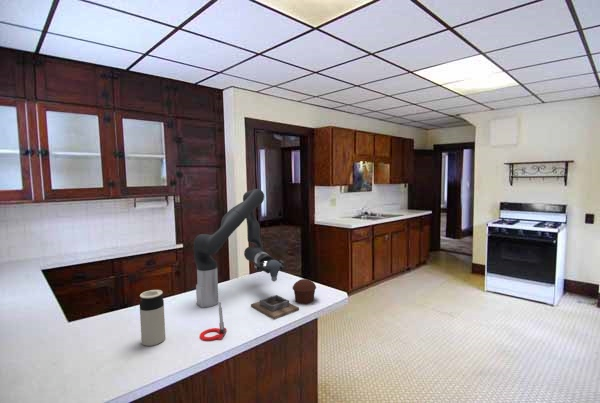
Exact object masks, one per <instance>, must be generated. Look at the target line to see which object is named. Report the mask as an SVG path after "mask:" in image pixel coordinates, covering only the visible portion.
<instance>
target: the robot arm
mask: <svg viewBox="0 0 600 403" xmlns="http://www.w3.org/2000/svg"><path fill="white" fill-rule="evenodd" d="M264 199H265V194H264V192H263V190H261V189H260V188H252V189H251V190H249V191H246V192H245V193H243V197H242V201H241V202H240V203H238V204H237V205H235V206H233V207H232V208H231V209H229V210H228V211H227V212H226V213H225V214H224V215H223V216H222V217H221V218H222V219H221V222H220V227H219V228H218V229H217V230H216V231H215V232H214V233H213V234H206V233H205V234H204V233H201V234H198V235H197V236H196V237H195V238H194V241H193V255H194V263H195V265H196V277H197V279H196V280H197V281H196V282H197V284H195V295H196V304H197V305H198V306H199V307H200V308H211V307H214V306H216V305H217V304H218V305H219V283H218V279H219V278H218V261H217V260H216V259H215V258H213V257H212V256H213V255H215V254H216V253H218V252H219V250H220V249H221V248H222V247H223V245H224V244H225V243H226V242H227V240H228V239H229V238H230V237H231V235H232V234H233V233H234V232H235V230H237V228H238V227H240V225H241V224H242V223H244V221H245V220H246V229H247V232H246V233H247V234H246V235H247V242H248V243H251V244H254V245H255V246H248V247H246V248H245V249H244V251H243V252H244V253H243V254H244V258H245V259H246V260H247V261H249V262H253V263H254V270H256V271H257V272H259V273H261V272H264V273H266V274H270V272H269V268H268V267H267V264H268V263H269V262H270V261H271V260H275V259H274V258H273V256H271V255H270V254H268V253H267V252H265V250H264V247H263V244H262V240H261V228H260V224H259V221H258V220H257V217H256V215H255V209H257V208H258V207H259V206H261V205H262V203H263V202H264ZM278 262H279V263H280V270H279V271H280V272H284V271H285V267H286V266H285V262H284V260H282V259H279V261H278Z"/></svg>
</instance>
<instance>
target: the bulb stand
mask: <svg viewBox="0 0 600 403" xmlns="http://www.w3.org/2000/svg"><path fill="white" fill-rule="evenodd" d="M250 307H251V309H252V308H253V310H256V311H258V312H260V313H261V314H263V315H265V316H266V317H268V318H270V319H272V320H276V319H279V318H281V317H285V316H287V315H290V314H292V313H296V312H297V311H299V310H300V307H299V306H296V305H295V304H293V303H290V300H289V299H287V298H285V297H282V296H279V295H277V294H275V295H272V296H269V297H266V298H263V299H262V298H261V299H260V300H259V301H257V302H256V301H255V302H253V303H250Z"/></svg>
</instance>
